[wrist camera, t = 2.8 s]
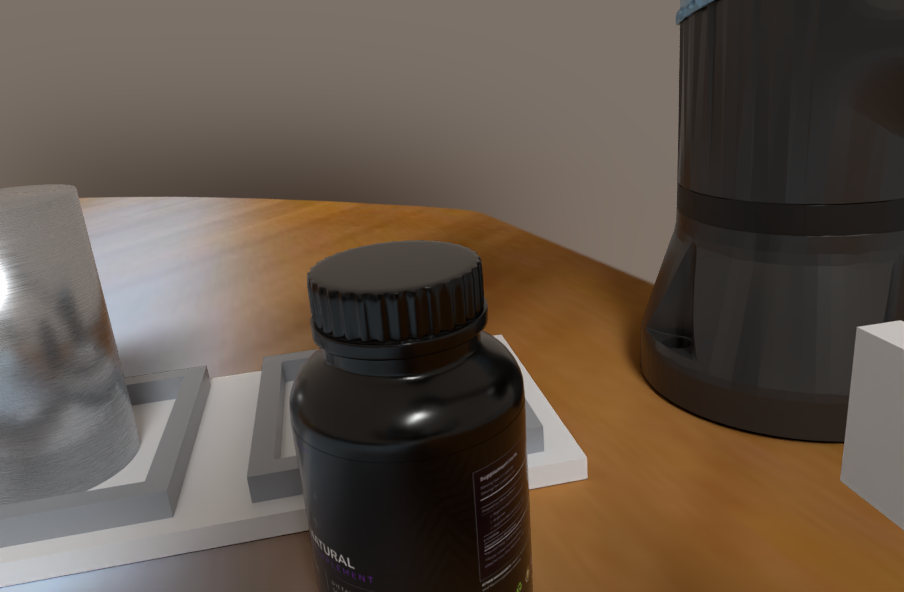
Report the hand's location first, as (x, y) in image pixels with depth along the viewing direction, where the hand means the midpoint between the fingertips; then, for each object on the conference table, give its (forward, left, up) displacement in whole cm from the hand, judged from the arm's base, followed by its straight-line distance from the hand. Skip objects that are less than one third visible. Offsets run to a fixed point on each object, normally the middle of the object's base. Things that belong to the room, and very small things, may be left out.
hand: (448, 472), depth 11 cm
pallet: (-12, -20, -12) cm, 26 cm away
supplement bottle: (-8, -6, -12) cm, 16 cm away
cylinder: (-7, -26, -11) cm, 29 cm away
